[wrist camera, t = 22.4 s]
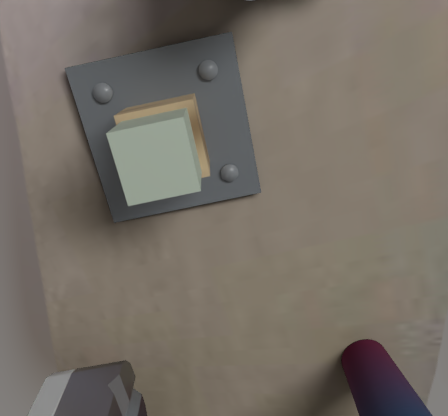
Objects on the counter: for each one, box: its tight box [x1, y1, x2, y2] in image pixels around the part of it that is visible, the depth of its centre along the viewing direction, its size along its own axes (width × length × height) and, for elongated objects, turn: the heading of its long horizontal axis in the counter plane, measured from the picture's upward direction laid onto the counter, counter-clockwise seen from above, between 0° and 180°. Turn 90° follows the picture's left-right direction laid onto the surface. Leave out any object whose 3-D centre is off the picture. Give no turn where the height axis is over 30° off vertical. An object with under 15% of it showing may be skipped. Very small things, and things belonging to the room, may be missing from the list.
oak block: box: [114, 93, 210, 178], centre depth 34 cm, size 6×6×5 cm
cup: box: [341, 339, 432, 416], centre depth 40 cm, size 7×7×15 cm
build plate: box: [65, 32, 261, 223], centre depth 37 cm, size 14×14×1 cm
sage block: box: [106, 108, 202, 206], centre depth 30 cm, size 5×5×5 cm
